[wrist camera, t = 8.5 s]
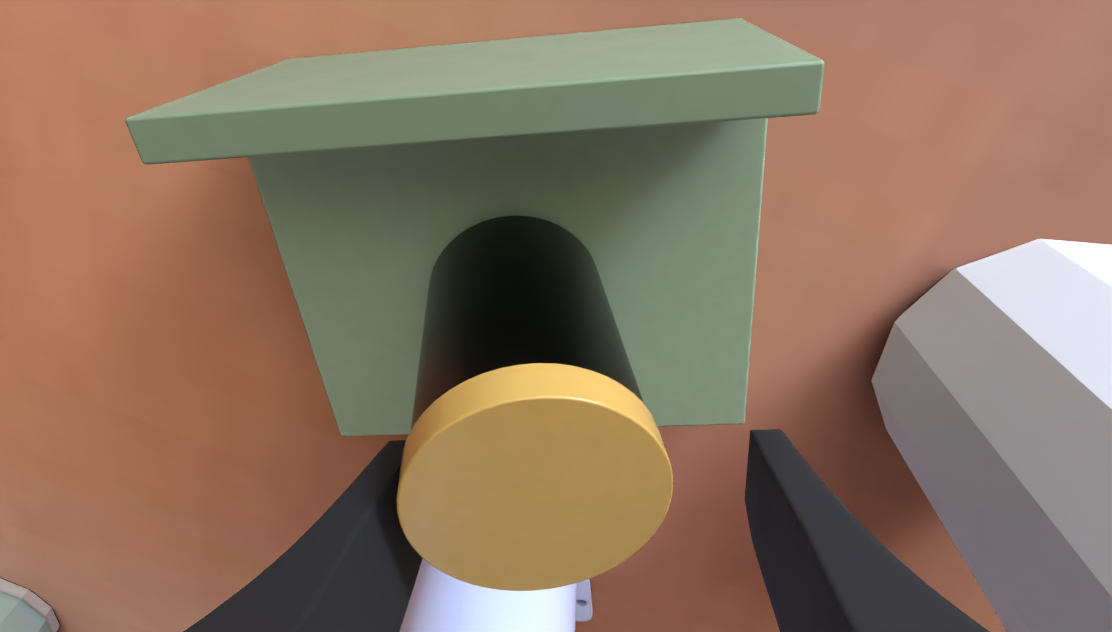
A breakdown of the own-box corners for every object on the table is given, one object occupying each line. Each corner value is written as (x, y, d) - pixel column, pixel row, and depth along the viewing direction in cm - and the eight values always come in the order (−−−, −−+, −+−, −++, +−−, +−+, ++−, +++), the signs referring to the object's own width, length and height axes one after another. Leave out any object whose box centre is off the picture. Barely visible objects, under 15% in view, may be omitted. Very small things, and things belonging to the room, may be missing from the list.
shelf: (724, 357, 25) (773, 518, 18) (374, 371, 26) (293, 526, 19) (742, 17, 19) (826, 59, 12) (286, 58, 20) (121, 117, 13)
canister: (606, 353, 20) (672, 571, 13) (443, 375, 20) (427, 608, 13) (598, 199, 17) (676, 378, 11) (408, 223, 17) (364, 420, 10)
